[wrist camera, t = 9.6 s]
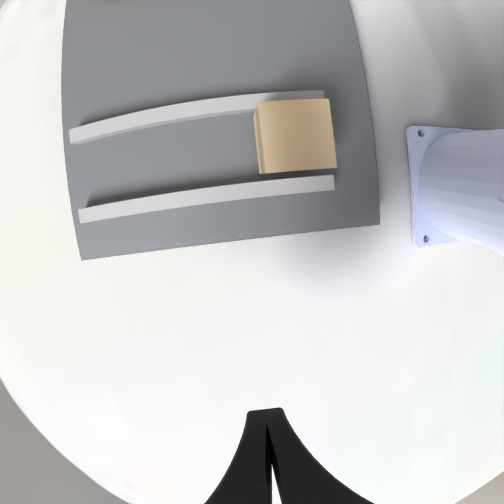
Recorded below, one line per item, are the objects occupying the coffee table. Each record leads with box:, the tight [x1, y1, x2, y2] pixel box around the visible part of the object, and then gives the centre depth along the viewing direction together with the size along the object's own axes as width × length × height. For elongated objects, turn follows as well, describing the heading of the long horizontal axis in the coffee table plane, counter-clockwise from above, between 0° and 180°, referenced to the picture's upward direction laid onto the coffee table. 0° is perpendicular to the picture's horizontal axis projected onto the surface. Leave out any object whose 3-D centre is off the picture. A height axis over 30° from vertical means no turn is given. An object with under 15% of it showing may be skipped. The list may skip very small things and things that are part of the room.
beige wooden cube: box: [253, 99, 337, 174], centre depth 14 cm, size 3×3×4 cm
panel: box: [61, 0, 380, 260], centre depth 15 cm, size 18×24×2 cm
